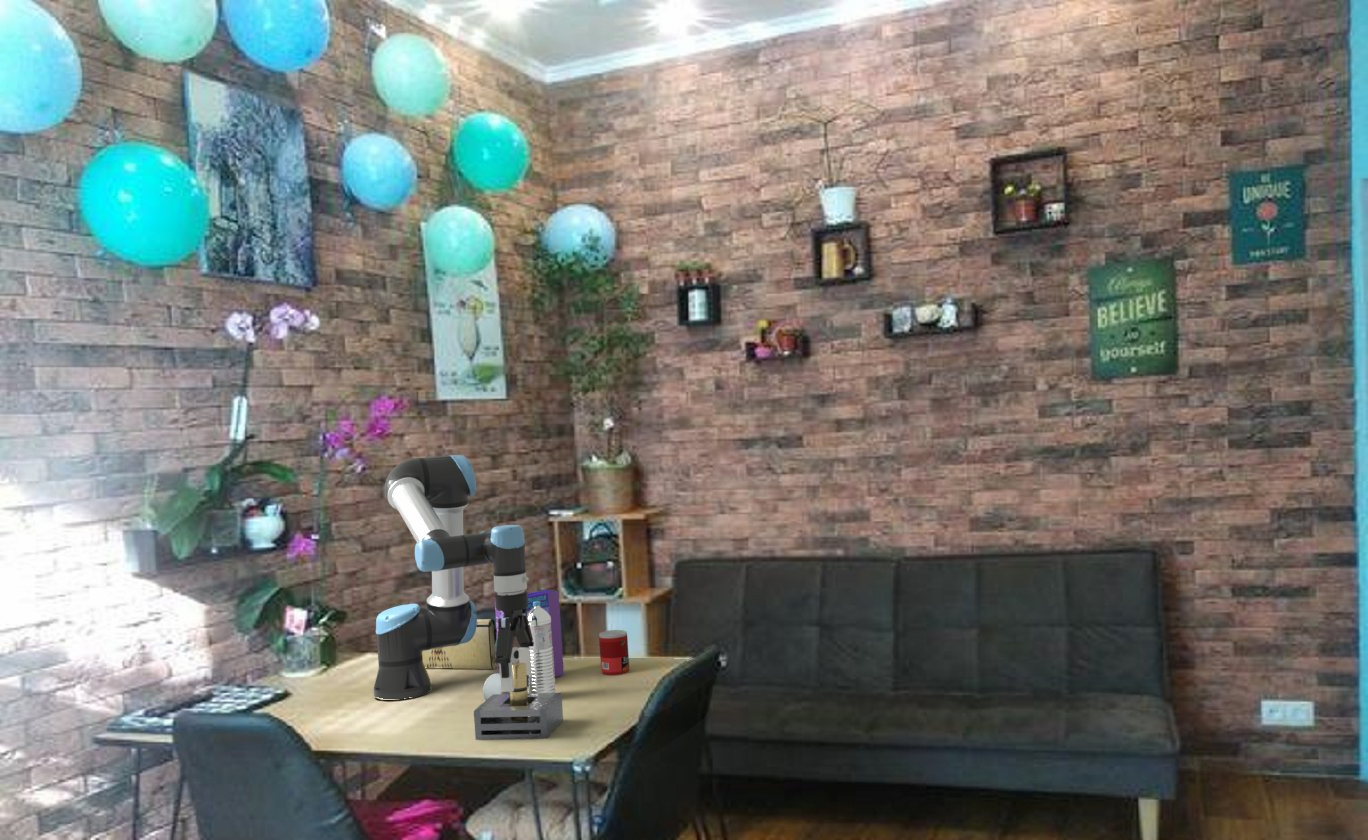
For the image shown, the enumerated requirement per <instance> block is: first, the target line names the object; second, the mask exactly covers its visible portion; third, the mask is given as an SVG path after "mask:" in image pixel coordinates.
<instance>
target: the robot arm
mask: <svg viewBox="0 0 1368 840" xmlns="http://www.w3.org/2000/svg"><path fill="white" fill-rule="evenodd" d="M475 474H476V473H475V470H474V468H473V465H472V463H471V462H470V460H469V458H468V457H466V456H465V455H462V454H461V455H460V454H459V455H458V454H456V455H455V454H454V455H453V454H448V455H447V454H446V455H435V456H427V457H414V458H408V459H405V460H403V461H401V462H399V463H398V464H397V465H395V466H394V468H393V469H392V470H391V471H390V472H389V473H388V475H387V476H386V479H385V484H384V495H385V498H386V500H387V501H388V503H389V505H390V506H391V507H392V508H393V509H394V510H397V511H398V512H399V514H400V516H401V518H402V519H403V521H404V523H405V524H406V526H407V528H408V530H409V532H410V533H411V534H412V537H413V538H414V540H415V541H416V544H415V546H414V559H415V560H414V561H415V563H416V567H417V569H418V570H419V571H420V572H422V573H425V572H431V592H432V593H431V594H430V595H428V597H427V598H426V607H420V606H419V604H418V603H408V604H401V605H397V606H394V607H393V606H392V607H390V608H388V609H385V610H382V611H381V612H380V613H378V615H377V617H376V619H375V620H376V621H375V634H376V644H377V645H376V646H377V647H376V648H377V661H378V669H377V673H376V678H375V681H374V686H373V697H374V696H375V697H379V698H383V699H404V698H409V697H414V698H417V697H421V696H423V695H426V694H428V693H430V692H431V691H430V690H432V681H431V678H430V675H429V673H428V671H427V668H425V666H424V664H423V656H422V651H425V650H431V649H436V648H442V647H448V646H457V645H459V644H463V643H467V642H469V641H470V640H471V639H472V638H473V636H474V634H475V631H476V626H477V619H478V614H477V608H476V604H475V603H474V602H473V601H472V600H470V596H469V595H468V594H467V593H466V592H465V589H464V586H465V585H464V582H465V581H464V579H465V578H464V568H465V567H467V568H468V567H472V566H480V565H487V564H492V568H493V569H492V570H493V572H492V573H493V591H494V592H495V593H496V594H495V595H494V604H495V603H496V609H497V610H498V611H502V612H503V613H504V614H503V618H499V619H498V638H497V637H496V648H495V655H496V659H495V663H496V665H497V664H498V665H499V664H500V673H499V674H500V677H501V692H513V691H514V683H513V667H512V662H510V660H511V654H512V648H513V642H514V637H515V636H516V638H517V640H518V643H519V645H520V647H522V648H518V650H519V663H526V675H532V667H531V652H530V647H529V646H534V642H532V641H533V637H532V633H531V629H530V625H529V621H528V617H527V609H526V608H527V607H528V594H529V593H528V592H527V591H526V590H527V588H528V581H529V576H527V569H526V567H527V566H526V563H527V562H526V548H525V543H526V538H525V534H524V529H523V527H522V526H521V525H519V524H505V525H497V526H494V527H492V529H490V530H483V531H481V532H479V533H469V534H464V510H465V509H466V508H467V506H469V498H471V497H473V496H475V494H476V491H477V479H476V475H475ZM528 636H529V637H528ZM404 700H405V699H404Z"/></svg>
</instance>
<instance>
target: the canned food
mask: <svg viewBox="0 0 1368 840" xmlns="http://www.w3.org/2000/svg"><path fill="white" fill-rule="evenodd" d="M628 640H629V639H628V632H627V631H626V630H624V629H623V630H622V629H612V630H610V629H609V630H605V631H602V632H599V633H598V645H599V657H600V671H601V673H602V674H603V675H605V674H606V676H619V674H620V675H624V674H626V672H627V673H629V671H630V670H629V669H630V659H629V657H630V656H629V644H628V643H629V642H628ZM623 673H624V674H623Z"/></svg>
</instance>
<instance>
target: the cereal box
mask: <svg viewBox="0 0 1368 840" xmlns="http://www.w3.org/2000/svg"><path fill="white" fill-rule="evenodd" d="M559 596H560V593H559V590H557V589H547V590H541V591H534V592H531V593H528V607H527V608H526V609H527V614H528V612H529V611H530V610H531V609H533V608H534V606H533V602H535V601H540V607H541V608H543V609H544V610H545V611H547V612H548V614H549V615H550V617H551V634H552V646H553V658H554V660H553V661H554V672H555V674H554V675H555V679H556V678H560V677H563V675H564V676H565V671H564V655H563V642H562V641H563V639H562V625H561V622H562V621H561V609H560V607H561V606H560V597H559ZM494 610H495V627H496V628H497V633H496V639H497V638H498V619H499V618H503V614H504V613H503V612H502V611H498V610H497V609H496V603H495V602H494ZM518 648H522V647H520V645H519V643H518V640H517V638H516V636H515V637H514V642H513V648H512V654H511V660H510V662H512V663H519V650H518ZM498 669H499V670H498V671H499V672H498V673H499V674H500V664H498ZM526 676H527V686H529V683H528V681H529V680H528V675H526Z"/></svg>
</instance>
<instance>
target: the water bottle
mask: <svg viewBox="0 0 1368 840" xmlns="http://www.w3.org/2000/svg"><path fill="white" fill-rule="evenodd" d="M533 606H534V608H533V609H531V610H530V611H529V612H528V614H527V617H528V621H529V625H530V629H531V633H532V637H533V641H532V642H534V646H529V647H530V652H531V667H532V675H528V680H529V681H528V683H529V685H528V694H530V693H557V692H556V691H557V689H556V678H555V675H554V674H555V672H554V661H553V660H554V658H553V646H552V634H551V617H550V615H549V614H548V612H547V611H545V610H544V609H543V608H541V607H540V601H535V602H533ZM528 637H529V636H528Z"/></svg>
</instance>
